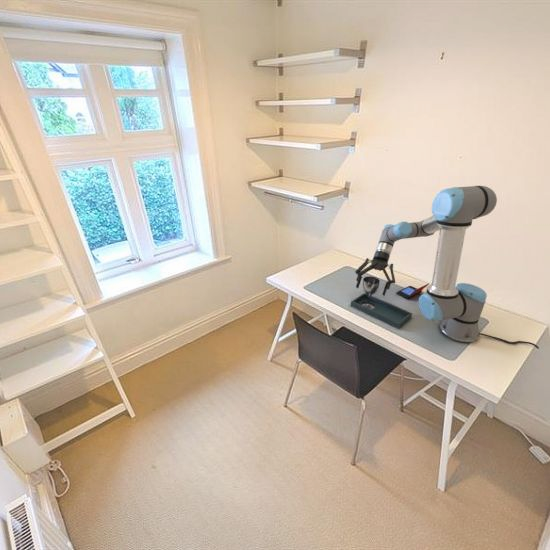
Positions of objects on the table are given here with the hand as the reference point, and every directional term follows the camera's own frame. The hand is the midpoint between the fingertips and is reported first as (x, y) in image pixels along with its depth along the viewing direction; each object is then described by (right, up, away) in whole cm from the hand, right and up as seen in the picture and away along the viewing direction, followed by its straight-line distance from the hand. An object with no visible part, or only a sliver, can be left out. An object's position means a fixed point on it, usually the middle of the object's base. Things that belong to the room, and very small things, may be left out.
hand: (370, 291), depth 158 cm
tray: (+5, -10, -1) cm, 11 cm away
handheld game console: (+27, -3, +13) cm, 30 cm away
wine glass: (0, -8, +4) cm, 9 cm away
